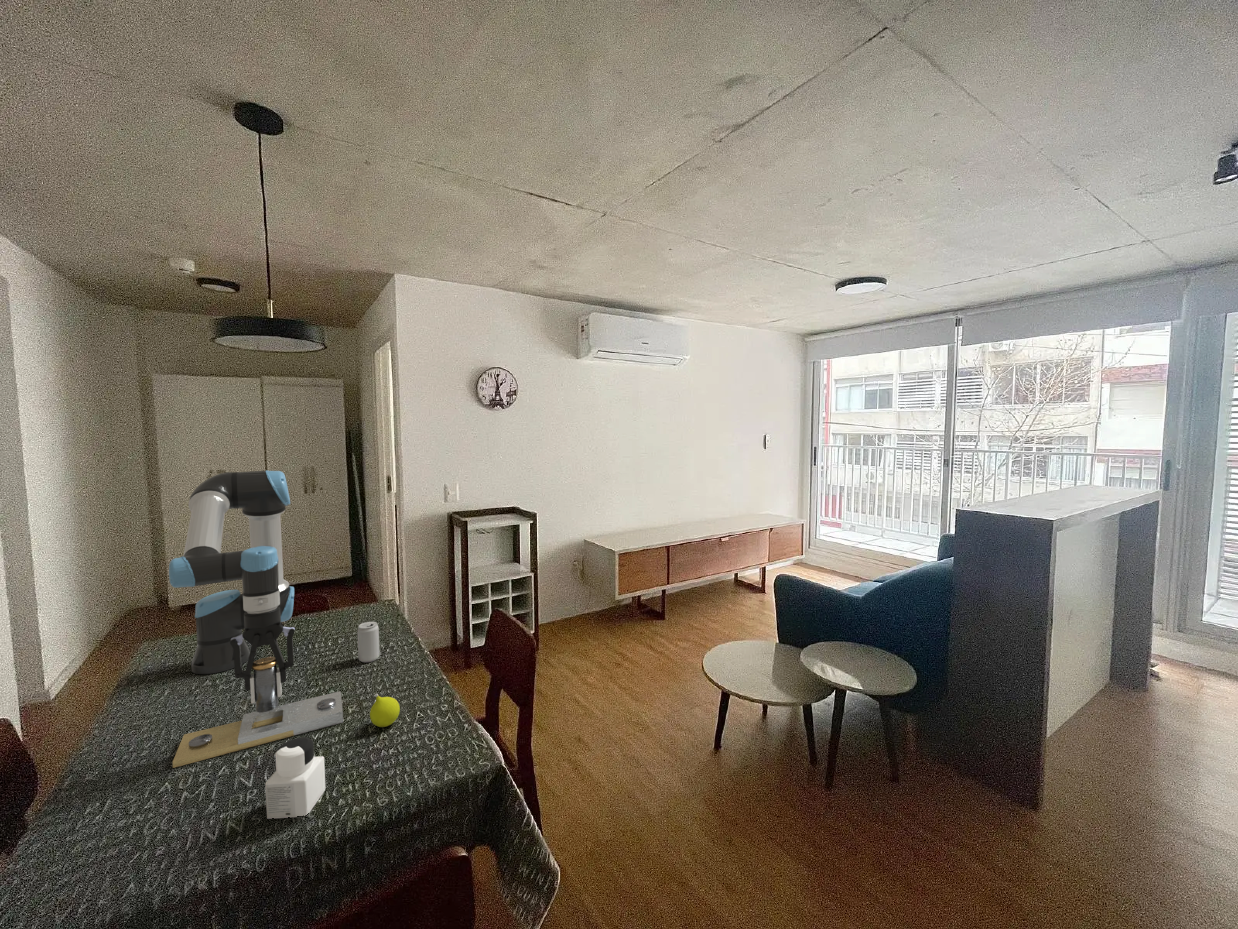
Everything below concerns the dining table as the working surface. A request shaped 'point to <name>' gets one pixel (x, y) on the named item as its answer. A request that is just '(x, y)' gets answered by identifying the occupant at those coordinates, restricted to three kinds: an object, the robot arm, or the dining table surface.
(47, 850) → the dining table surface
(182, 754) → the link
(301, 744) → the container
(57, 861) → the dining table surface
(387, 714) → the lemon
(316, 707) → the link
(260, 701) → the pin
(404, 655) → the dining table surface
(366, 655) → the beverage can
